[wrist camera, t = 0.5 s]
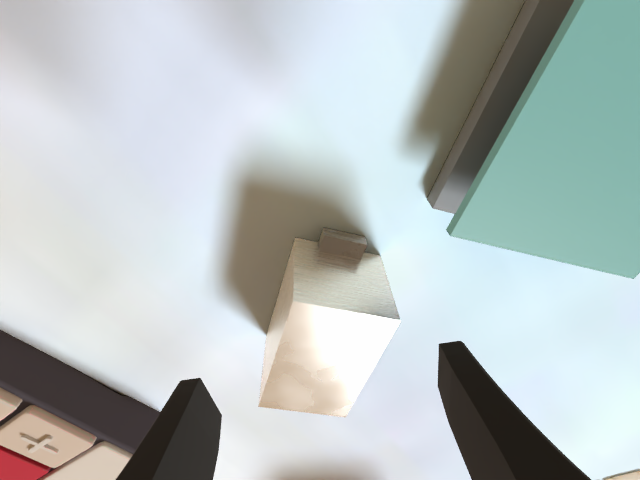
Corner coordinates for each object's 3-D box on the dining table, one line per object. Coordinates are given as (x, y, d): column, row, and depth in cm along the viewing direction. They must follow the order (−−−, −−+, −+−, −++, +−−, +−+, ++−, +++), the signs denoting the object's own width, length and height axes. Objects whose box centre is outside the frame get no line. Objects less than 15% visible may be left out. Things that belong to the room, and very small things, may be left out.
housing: (387, 241, 20) (409, 304, 16) (333, 356, 25) (340, 426, 21) (299, 221, 19) (298, 283, 15) (263, 345, 24) (255, 416, 20)
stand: (743, 47, 15) (848, 59, 12) (586, 239, 20) (633, 278, 17) (543, -35, 13) (610, -45, 10) (426, 198, 19) (450, 235, 16)
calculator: (-75, 361, 19) (154, 474, 25) (-12, 306, 23) (174, 417, 29) (-154, 436, 22) (65, 519, 29) (-88, 377, 26) (93, 462, 32)
